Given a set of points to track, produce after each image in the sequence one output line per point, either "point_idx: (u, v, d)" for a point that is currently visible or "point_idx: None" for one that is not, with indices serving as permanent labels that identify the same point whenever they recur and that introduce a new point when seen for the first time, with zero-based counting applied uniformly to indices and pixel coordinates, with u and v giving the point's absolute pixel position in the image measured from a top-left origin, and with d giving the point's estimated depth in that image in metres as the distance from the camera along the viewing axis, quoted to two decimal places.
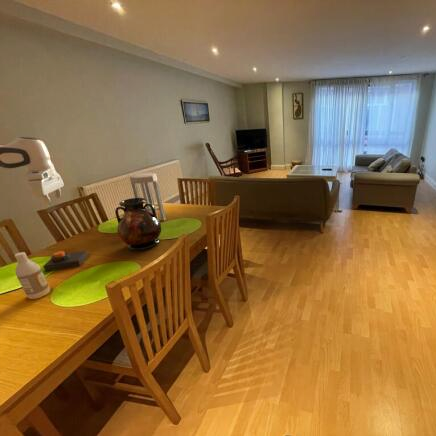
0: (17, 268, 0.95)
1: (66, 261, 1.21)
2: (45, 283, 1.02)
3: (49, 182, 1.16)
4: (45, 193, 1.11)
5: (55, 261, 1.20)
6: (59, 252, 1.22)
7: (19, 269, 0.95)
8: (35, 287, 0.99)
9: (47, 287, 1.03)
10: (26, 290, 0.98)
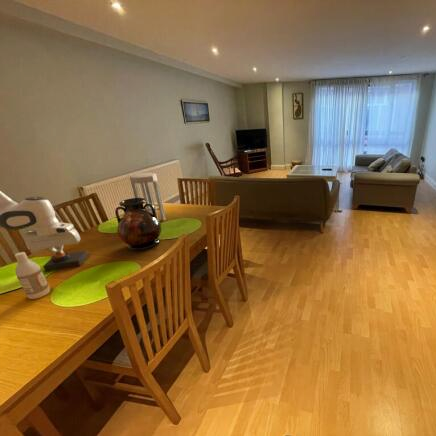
0: (17, 268, 0.95)
1: (66, 261, 1.21)
2: (45, 283, 1.02)
3: None
4: None
5: (55, 261, 1.20)
6: None
7: (19, 269, 0.95)
8: (35, 287, 0.99)
9: (47, 287, 1.03)
10: (26, 290, 0.98)
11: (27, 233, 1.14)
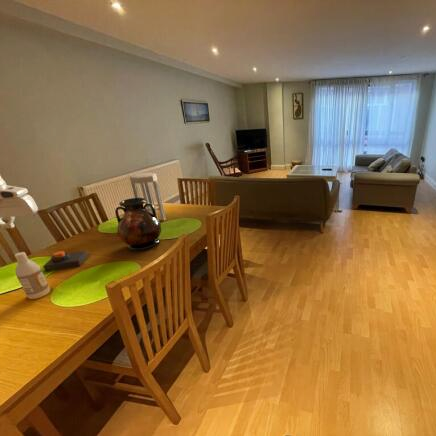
0: (17, 268, 0.95)
1: (66, 261, 1.21)
2: (45, 283, 1.02)
3: None
4: None
5: (55, 261, 1.20)
6: (59, 252, 1.22)
7: (19, 269, 0.95)
8: (35, 287, 0.99)
9: (47, 287, 1.03)
10: (26, 290, 0.98)
11: None
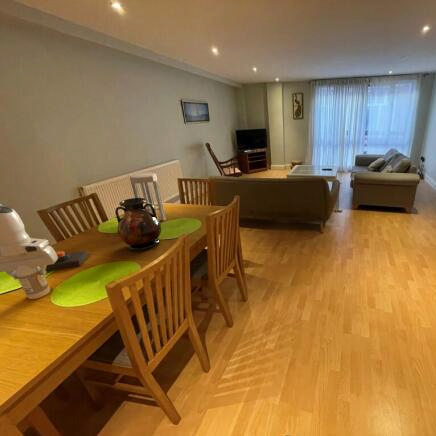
0: (17, 268, 0.95)
1: (66, 261, 1.21)
2: (45, 283, 1.02)
3: None
4: None
5: None
6: (59, 252, 1.22)
7: (19, 269, 0.95)
8: (35, 287, 0.99)
9: (47, 287, 1.03)
10: (26, 290, 0.98)
11: None
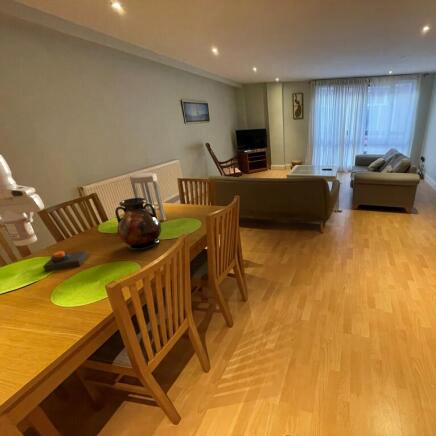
0: (3, 213, 0.97)
1: (66, 261, 1.21)
2: (32, 231, 1.04)
3: None
4: None
5: (55, 261, 1.20)
6: (59, 252, 1.22)
7: (5, 214, 0.97)
8: (22, 234, 1.01)
9: (34, 236, 1.05)
10: (12, 236, 1.00)
11: None
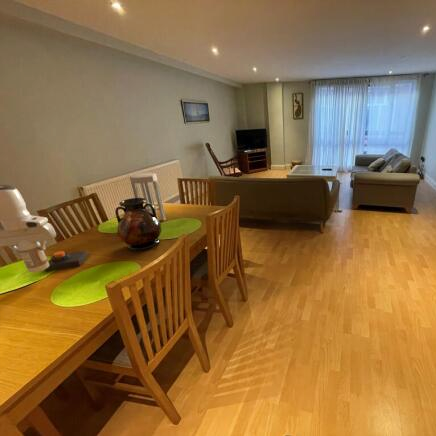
0: (19, 243, 1.03)
1: (66, 261, 1.21)
2: (44, 258, 1.10)
3: None
4: None
5: (55, 261, 1.20)
6: (59, 252, 1.22)
7: (20, 243, 1.03)
8: (35, 261, 1.06)
9: (46, 262, 1.11)
10: (27, 264, 1.05)
11: None
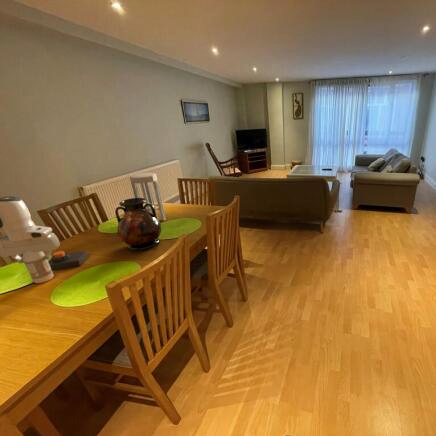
0: (24, 254, 1.05)
1: (66, 261, 1.21)
2: (49, 269, 1.12)
3: None
4: None
5: (55, 261, 1.20)
6: (59, 252, 1.22)
7: (26, 255, 1.05)
8: (40, 272, 1.08)
9: (51, 272, 1.13)
10: (32, 274, 1.08)
11: None
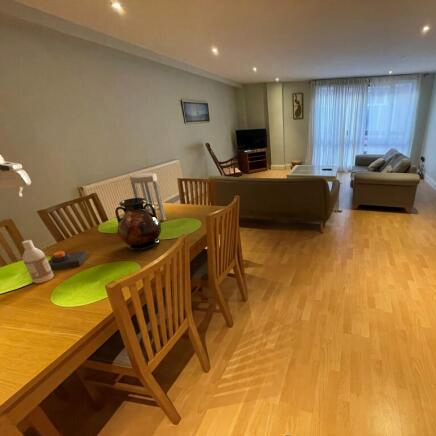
0: (24, 254, 1.05)
1: (66, 261, 1.21)
2: (49, 269, 1.12)
3: None
4: None
5: (55, 261, 1.20)
6: (59, 252, 1.22)
7: (26, 255, 1.05)
8: (40, 272, 1.08)
9: (51, 272, 1.13)
10: (32, 274, 1.08)
11: None
